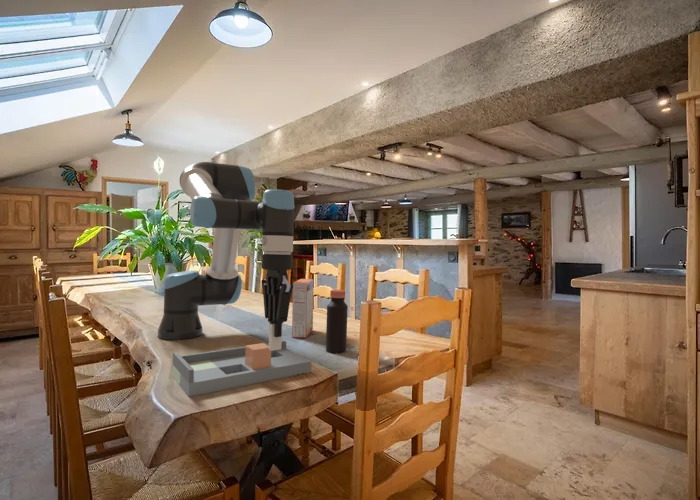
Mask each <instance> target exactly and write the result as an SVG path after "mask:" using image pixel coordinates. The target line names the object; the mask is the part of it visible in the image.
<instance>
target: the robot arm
mask: <svg viewBox="0 0 700 500" xmlns="http://www.w3.org/2000/svg"><path fill="white" fill-rule="evenodd" d="M254 176H255V175H254V174H253V171H252V170H251V168H249V167H247V166H241V165H239V164H237V165H236V164H226V163H220V162H219V163H218V162H211V161H201V162H195V163H193V164H190V165H188V166H187V167H186V168H185V169H183V170H182V172H181V174H180V176H179V186H180V188H181V191H183V193H184V194H185V195H187V196H188V197H189V198H190V199H191V202H190V209H189V213H190V215H189V217H190V222H191V225H193V226H194V227H198V228H204V229H214V237H213V244H212V255H211V263H210V266H208V267H207V268H206V270H205V274H200V272H199V270H184V271H179V272H173V273H169V274H167V275H166V276H165V278H164V282H163V283H164V286H163V289H164V292H163V315H162V318H161V321H160V324H159V326H158V329H157V337H158V338H159V339H162V340H186V339H187V340H188V339H194V338H197V337H200V336H202V335H203V325H202V322H201V319H200V316H199V306H215V305H216V306H218V305H222V306H223V305H224V306H225V305H231V304H234V303H237V301H238V300H239V298H240V295H241V292H242V287H243V286H242V283H243V281H242V277H241V275H240V274H239V272H238V270H237V269H236V262H237V261H236V259H237V253H238V245H239V238H240V230H250V231H252V230H253V231H259V232H261V235H262V236H261V239H260V243H261V251H262V252H263V254H261V265H260V266H261V269H262V270H266V273H265V274H266V275H265V278H264V279H262V280H261V286H262V295H263V307H264V308H263V309H264V311H263V312H264V319H267V322H268V323H269V324H268V343H269V350H271V351H273V350H279V349H281V343H282V339H283V338H282V337H283V335H282V334H283V324H284V323H286V322H288V318H289V310H290V303H291V296H292V293H293V283H289V277H288V271H290V270H292V269H293V263H294V262H293V259H294V256H293V254H291V253H293V252H294V219H295V208H296V207H295V206H296V205H295V196H294V193H293V192H292V191H291V190H287V189H276V188H275V189H266V190H265V191H264V192H263V197H262V199H261V200H262V201H259V200H258V201H256V200H255V201H254V199H255V196H256V180H255V177H254Z"/></svg>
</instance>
